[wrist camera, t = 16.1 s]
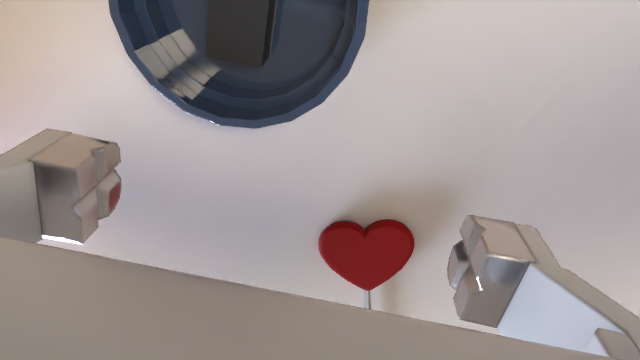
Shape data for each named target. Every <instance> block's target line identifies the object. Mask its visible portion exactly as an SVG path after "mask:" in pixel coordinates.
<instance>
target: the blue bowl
mask: <svg viewBox="0 0 640 360" xmlns="http://www.w3.org/2000/svg"><path fill="white" fill-rule="evenodd" d="M368 5H369V0H278V1H277V8H276V16H275V24H274V32H273V40H272V48H271V55H270V57H269V58H268V59H267V61H266V62H265V63H264V65H263V66H262V67H257V66H252V65H246V64H241V63H236V62H231V61H226V60H221V59H215V58H210V57H206V41H207V25H208V9H209V0H109V8H110V14H111V17H112V20H113V22H114V24H115V27H116V29H117V32H118V34H119V36H120V39H121V41H122V43H123V46H124V48H125V50H126V53H127V54H128V56H129V57H130V59H131V60H132V61H133V63H134V64H135V65H136V66H137V68H138V69H139V70H140V72H141V73H142V74H143V75H144V77H145V78H146V79H147V81H148V82H149V83H150V84H151V86H152V87H153V88H154V89H156V90H157V91H158V92H160V93H161V94H162V95H163V96H165V97H166V98H167V99H169V100H170V101H171V102H173V103H174V104H175V105H177V106H178V107H179V108H181V109H182V110H183V111H185V112H187V113H190V114H192V115H195V116H197V117H200V118H202V119H205V120H207V121H210V122H212V123H215V124H217V125H222V126H233V127H243V128H254V129H255V128H261V127H266V126H271V125H275V124H280V123H285V122H289V121H292V120H294V119H296V118H298V117H299V116H301V115H303V114H304V113H306V112H308V111H310V110H311V109H313V108H315V107H317V106H318V105H320V104H322V103H323V102H324V101H325V100H326V99H327V97H328V96H329V95H330V94H331V93H332V92H333V91H334V90H335V89H336V87H337V86H338V85H339V84H340V83H341V82H342V81H343V80H344V78H345V77H346V76H347V75H348V73H349V71H350V69H351V67H352V65H353V62H354V60H355V58H356V56H357V53H358V51H359V49H360V47H361V44H362V42H363V40H364V36H365V31H366V22H367V13H368Z"/></svg>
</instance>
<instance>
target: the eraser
mask: <svg viewBox="0 0 640 360" xmlns="http://www.w3.org/2000/svg"><path fill="white" fill-rule="evenodd" d="M277 1H278V0H209V9H208V25H207V41H206V57H210V58H215V59H221V60H226V61H231V62H236V63H241V64H246V65H252V66H257V67H262V66H263V65H264V63H265V62H266V61H267V59H268V58H269V57H270V55H271V48H272V40H273V32H274V24H275V16H276V8H277Z"/></svg>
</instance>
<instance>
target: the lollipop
mask: <svg viewBox="0 0 640 360" xmlns="http://www.w3.org/2000/svg"><path fill="white" fill-rule="evenodd" d="M413 249H414V239H413V235H412V233H411V231H410V230H409V229H408V228H407V227H406V226H405V225H404V224H402V223H400V222H397V221H394V220H381V221H378V222H375V223H373V224H371V225H370V226H369V227H368V228H367V229H366V230H364V229H363V228H362V227H361V226H360V225H358V224H356V223H353V222H348V221H342V222H336V223H333V224H331V225H330V226H328V227H327V228H326V229H325V230H324V231H323V232H322V234H321V236H320V238H319V251H320V254H321V256H322V258H323V259H324V260H325V262H326V263H327V264H328V266H329V267H330V268H331V269H332V270H333V271H335V272H336V273H337V274H339V275H340V276H341V277H343V278H344V279H346V280H347V281H349V282H351V283H352V284H354V285H356V286H358V287H360V288H362V289H364V290H366V301H367V309H370V310H371V304H370V290H372V289H374V288H375V287H377V286H379V285H380V284H382V283H384V282H385V281H387V280H388V279H390V278H391V277H392V276H394V275H395V274H396V273H397V272H398V271H399V270H401V269H402V268H403V266H404V265H405V264H406V263H407V261H408V260H409V258H410V256H411V255H412V252H413Z"/></svg>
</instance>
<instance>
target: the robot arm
mask: <svg viewBox="0 0 640 360" xmlns="http://www.w3.org/2000/svg"><path fill="white" fill-rule="evenodd" d="M120 162H121V158H120V148H119V146H118V145H117V143H115V142H110V141H106V140H101V139H97V138H92V137H88V136H83V135H79V134H73V133H72V132H66V131H60V130H54V129H45V130H43V131H42V132H40V133H38V134H37V135H35V136H33V137H31V138H30V139H28V140H26V141H24V142H23V143H21V144H19V145H18V146H16V147H14V148H12V149H11V150H9V151H7V152H6V153H4V154H2V155H0V360H640V318H639V317H637V316H636V315H634V314H633V313H631V312H630V311H628V310H627V309H626V308H624V307H623V306H621V305H620V304H618V303H617V302H615V301H614V300H612V299H611V298H609V297H608V296H606V295H605V294H603V293H602V292H600V291H599V290H598V289H596V288H595V287H593V286H592V285H590V284H589V283H587V282H586V281H584V280H583V279H581V278H580V277H578V276H577V275H575V274H574V273H572V272H571V271H570V270H567V269H562V268H561V267H560V265H559V264H558V262H557V260H556V259H555V257H554V256H553V254H552V252H551V251H550V249H549V248H548V246H547V244H546V243H545V241H544V240H543V238H542V236H541V235H540V233H539V232H538V230H537V229H536V228H535V227H533V226H529V225H523V224H516V223H513V222H508V221H502V220H496V219H491V218H485V217H480V216H474V215H468V216H467V217H466V218H465V220H464V221H463V224H462V226H461V228H460V233H461V236H462V239H463V240H461V241H460V242H458V243H457V244H456V245H454V246H453V249H452V251H451V254H450V257H449V262H448V269H447V270H448V280H449V284H450V286H452V287H453V288H454V289H455V290H456V293H455V295H454V297H453V299H454V303H455V307H456V310H457V314H458V318H459V320H464V321H468V322H473V323H477V324H481V325H486V326H490V327H495V328H497V329H496V330H497V331H498V332H499V333H500V334H501V335H502V336H501V335H496V334H491V333H486V332H481V331H476V330H471V329H466V328H461V327H456V326H451V325H445V324H440V323H435V322H430V321H425V320H420V319H415V318H410V317H405V316H400V315H395V314H390V313H385V312H380V311H375V310H370V309H365V308H360V307H355V306H350V305H345V304H340V303H335V302H330V301H324V300H319V299H314V298H309V297H304V296H299V295H294V294H289V293H284V292H279V291H274V290H269V289H264V288H259V287H254V286H249V285H244V284H239V283H234V282H229V281H224V280H219V279H214V278H209V277H204V276H199V275H194V274H189V273H183V272H178V271H173V270H168V269H163V268H158V267H153V266H148V265H143V264H138V263H133V262H128V261H123V260H118V259H113V258H108V257H103V256H98V255H93V254H88V253H83V252H78V251H73V250H68V249H63V248H58V247H53V246H48V245H42V244H37V243H35V242H38V241H40V240H42V238H48V239H54V240H59V241H65V242H71V243H77V244H83V243H84V242H85V241H86V240H87V239H88V238H89V237H90V236H91V235H92V234H93V232H94V231H95V230H96V229H97V228H98V220H99V219H102V218H105V217H108V216H109V215H110V214H111V213H112V212H113V210H114V209H115V207H116V205H117V203H118V200H119V198H120V192H121V178H120V176H119V175H118V174H117V172H116V171H115V169H114V168H115V167H116V166H117V165H118V164H119V163H120Z"/></svg>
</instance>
